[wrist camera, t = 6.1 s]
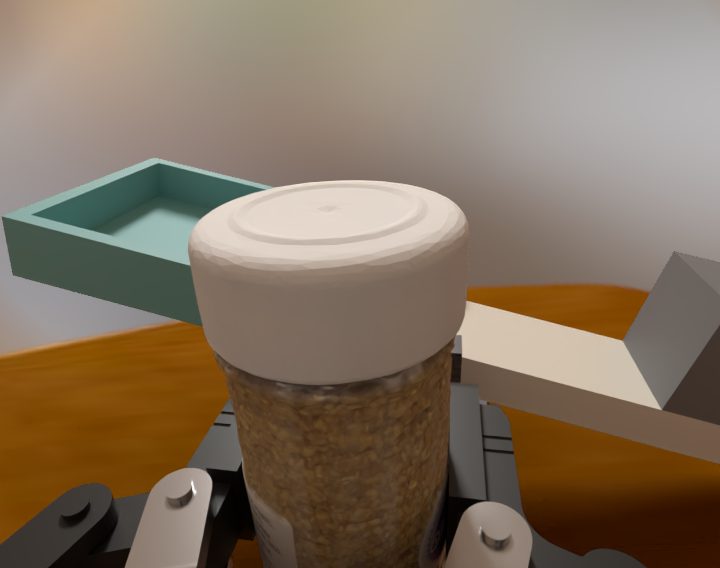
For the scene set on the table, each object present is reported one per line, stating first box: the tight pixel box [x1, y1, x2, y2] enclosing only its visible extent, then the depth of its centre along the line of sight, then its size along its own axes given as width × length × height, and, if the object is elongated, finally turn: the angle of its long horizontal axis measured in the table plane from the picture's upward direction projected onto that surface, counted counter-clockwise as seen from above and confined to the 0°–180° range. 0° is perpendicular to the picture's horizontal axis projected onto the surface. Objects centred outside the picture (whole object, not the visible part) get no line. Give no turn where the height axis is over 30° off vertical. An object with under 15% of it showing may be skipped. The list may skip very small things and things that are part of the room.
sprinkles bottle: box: [188, 180, 469, 568], centre depth 11 cm, size 5×5×13 cm
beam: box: [2, 158, 720, 464], centre depth 17 cm, size 26×8×6 cm, turn 80°
